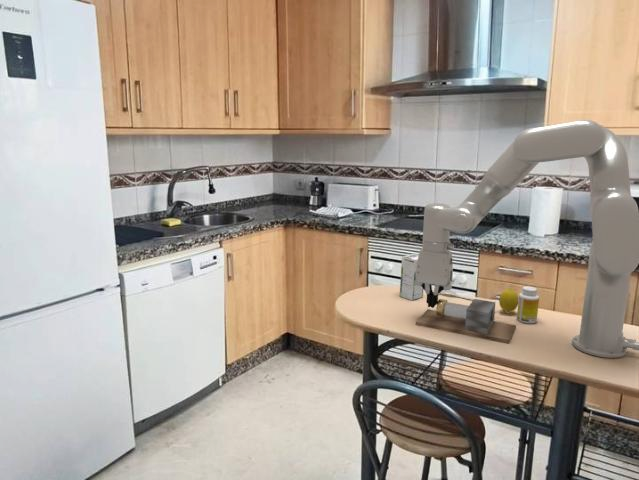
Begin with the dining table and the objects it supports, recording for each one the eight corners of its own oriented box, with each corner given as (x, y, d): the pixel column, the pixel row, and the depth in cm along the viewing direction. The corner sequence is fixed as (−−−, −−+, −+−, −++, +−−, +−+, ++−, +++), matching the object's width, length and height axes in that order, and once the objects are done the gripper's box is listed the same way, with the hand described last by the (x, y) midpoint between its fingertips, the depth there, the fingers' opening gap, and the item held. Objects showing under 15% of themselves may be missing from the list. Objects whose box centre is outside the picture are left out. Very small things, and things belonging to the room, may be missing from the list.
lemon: (519, 312, 155) (522, 288, 153) (513, 317, 151) (515, 292, 149) (502, 308, 159) (504, 284, 157) (495, 313, 155) (497, 288, 153)
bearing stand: (515, 328, 143) (518, 304, 141) (509, 343, 133) (511, 318, 131) (427, 312, 155) (428, 290, 153) (415, 324, 145) (416, 301, 143)
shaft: (482, 320, 144) (483, 303, 142) (478, 325, 139) (480, 309, 138) (440, 312, 149) (441, 296, 148) (435, 317, 145) (436, 301, 144)
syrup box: (410, 293, 173) (412, 253, 170) (423, 297, 168) (426, 256, 165) (399, 296, 169) (401, 255, 166) (412, 301, 165) (415, 259, 162)
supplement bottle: (540, 322, 147) (544, 290, 145) (525, 325, 145) (529, 292, 143) (527, 316, 152) (530, 284, 150) (512, 318, 150) (515, 286, 148)
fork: (492, 313, 162) (494, 305, 161) (432, 295, 172) (433, 287, 172) (494, 310, 164) (496, 302, 164) (435, 292, 175) (436, 285, 174)
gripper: (464, 246, 143) (460, 306, 147) (414, 240, 150) (411, 298, 154) (458, 252, 137) (453, 314, 141) (406, 245, 144) (403, 305, 148)
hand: (431, 305), depth 148 cm, fingers closed
